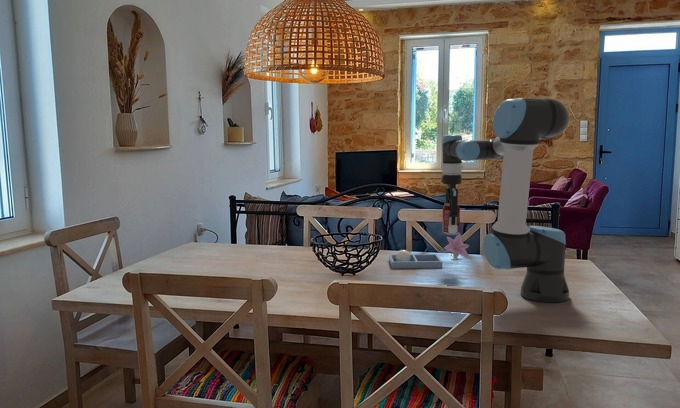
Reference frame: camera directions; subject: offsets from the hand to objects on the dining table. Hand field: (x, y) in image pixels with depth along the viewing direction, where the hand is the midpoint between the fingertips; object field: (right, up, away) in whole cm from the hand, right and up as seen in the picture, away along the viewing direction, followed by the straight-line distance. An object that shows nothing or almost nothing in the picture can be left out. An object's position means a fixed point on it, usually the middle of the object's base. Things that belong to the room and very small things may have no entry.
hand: (451, 230), depth 211 cm
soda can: (0, -1, 0) cm, 1 cm away
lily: (+7, -13, +22) cm, 26 cm away
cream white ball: (-18, -14, +9) cm, 25 cm away
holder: (-13, -15, +9) cm, 22 cm away
